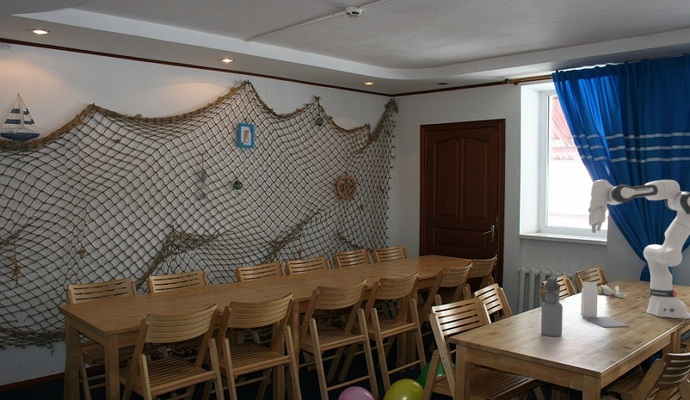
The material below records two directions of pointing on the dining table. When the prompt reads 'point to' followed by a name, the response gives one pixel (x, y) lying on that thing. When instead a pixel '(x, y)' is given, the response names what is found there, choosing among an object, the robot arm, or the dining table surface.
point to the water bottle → (551, 309)
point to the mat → (605, 322)
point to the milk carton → (589, 299)
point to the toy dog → (610, 291)
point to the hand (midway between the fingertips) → (596, 231)
